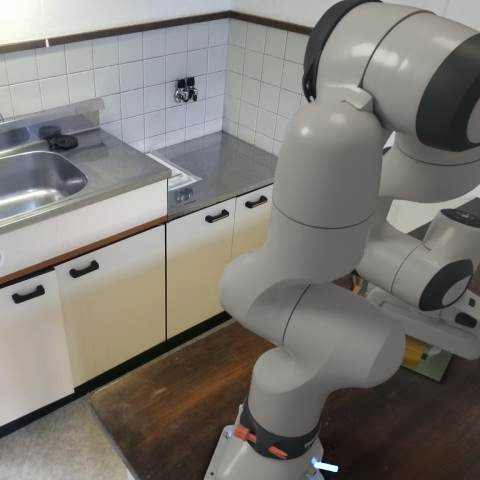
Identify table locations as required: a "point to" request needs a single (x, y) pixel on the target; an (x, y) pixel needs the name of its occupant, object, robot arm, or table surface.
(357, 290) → the drawer
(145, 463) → the table surface
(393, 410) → the table surface
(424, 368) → the cabinet
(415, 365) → the block
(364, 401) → the table surface
